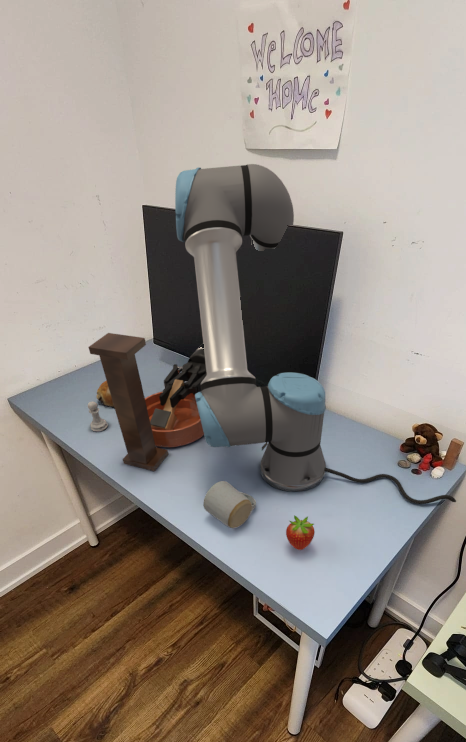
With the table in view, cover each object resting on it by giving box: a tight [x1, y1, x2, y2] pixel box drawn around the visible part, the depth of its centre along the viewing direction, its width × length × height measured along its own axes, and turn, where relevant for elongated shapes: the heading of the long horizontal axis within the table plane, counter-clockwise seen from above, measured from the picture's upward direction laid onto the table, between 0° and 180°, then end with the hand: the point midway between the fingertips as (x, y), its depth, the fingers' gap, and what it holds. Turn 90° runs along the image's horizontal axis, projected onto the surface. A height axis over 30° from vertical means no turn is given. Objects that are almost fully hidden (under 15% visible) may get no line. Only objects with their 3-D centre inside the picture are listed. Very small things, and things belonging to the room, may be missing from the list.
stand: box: [88, 332, 169, 472], centre depth 96 cm, size 9×7×30 cm
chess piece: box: [87, 401, 109, 432], centre depth 115 cm, size 5×5×8 cm
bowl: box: [145, 390, 204, 448], centre depth 115 cm, size 20×20×6 cm
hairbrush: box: [150, 379, 185, 430], centre depth 111 cm, size 5×15×4 cm
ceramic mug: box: [202, 480, 257, 529], centre depth 89 cm, size 11×8×8 cm
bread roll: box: [96, 379, 114, 408], centre depth 127 cm, size 10×10×8 cm
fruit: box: [285, 515, 316, 551], centre depth 82 cm, size 5×5×8 cm
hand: (166, 401), depth 110 cm, fingers closed on hairbrush, 2 cm apart
